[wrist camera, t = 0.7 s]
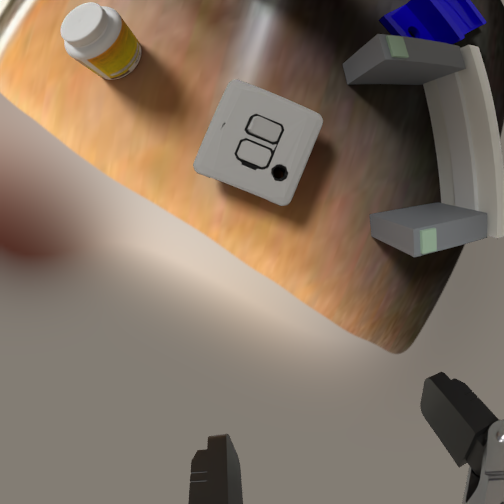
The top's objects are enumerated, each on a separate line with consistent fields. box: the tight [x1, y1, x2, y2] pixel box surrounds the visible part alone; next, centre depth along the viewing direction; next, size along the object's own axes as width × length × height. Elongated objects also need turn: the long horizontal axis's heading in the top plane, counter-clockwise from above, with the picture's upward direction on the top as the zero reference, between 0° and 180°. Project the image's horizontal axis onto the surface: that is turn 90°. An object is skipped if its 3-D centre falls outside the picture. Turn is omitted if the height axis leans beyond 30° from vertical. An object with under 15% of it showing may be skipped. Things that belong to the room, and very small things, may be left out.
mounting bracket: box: [379, 0, 487, 44], centre depth 24 cm, size 18×7×6 cm, turn 131°
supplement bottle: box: [61, 2, 141, 80], centre depth 21 cm, size 6×6×10 cm
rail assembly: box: [343, 34, 504, 257], centre depth 26 cm, size 20×12×10 cm, turn 10°
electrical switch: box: [193, 80, 323, 206], centre depth 28 cm, size 9×5×9 cm
